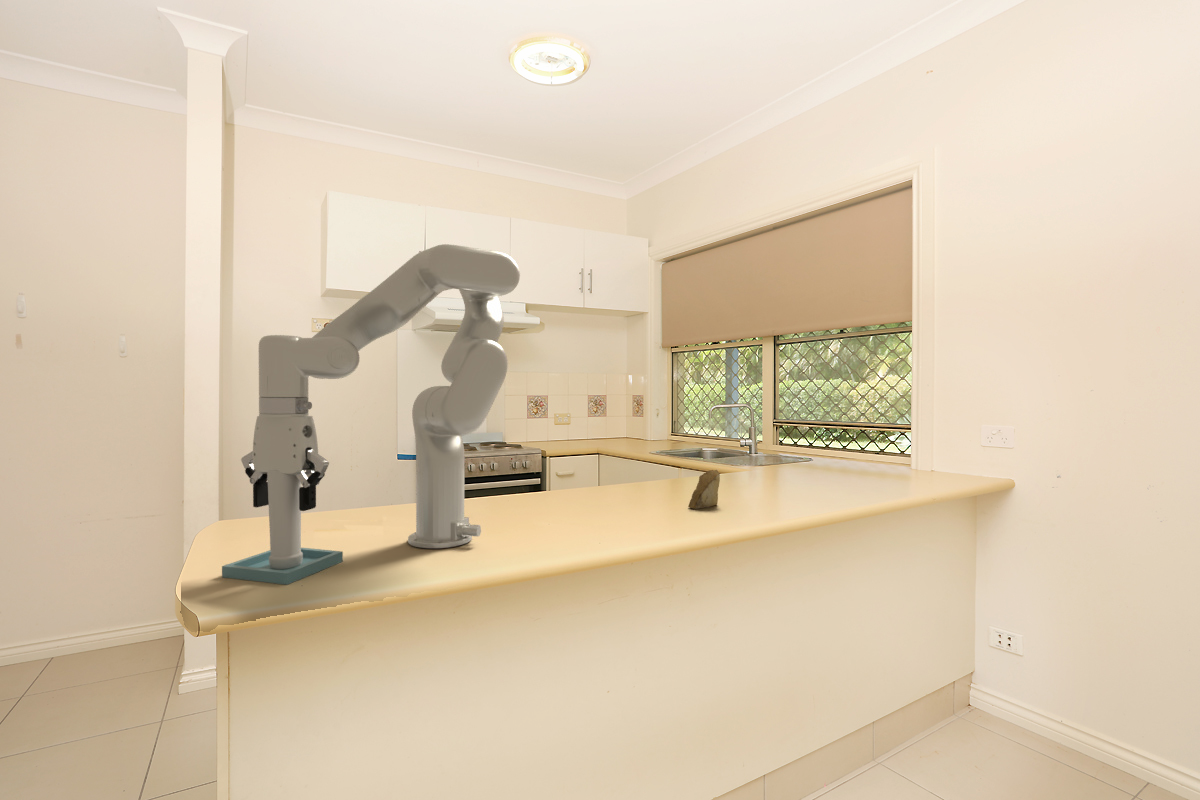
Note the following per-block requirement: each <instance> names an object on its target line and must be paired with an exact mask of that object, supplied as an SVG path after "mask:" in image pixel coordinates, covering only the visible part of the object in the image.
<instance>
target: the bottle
mask: <svg viewBox="0 0 1200 800" xmlns="http://www.w3.org/2000/svg"><path fill="white" fill-rule="evenodd" d="M267 478H268V480H267V482H268V502H269V505H268V520H269V521H268V522H269V546H270V549H269V550H271V555H270V556H269V564H270V567H271V568H272V569H288V568H293V567H296V566H299V565H300V564H301V563H302V559H303V553H302V552H301V548H302V511H300V510H299V489H300V487H302V484H301V483H300V481H299V479H298V478H297V476H296V475H285V474H282V473H281V472H280V471H278V470H269V471H268V473H267Z"/></svg>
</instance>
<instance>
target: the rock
mask: <svg viewBox="0 0 1200 800" xmlns="http://www.w3.org/2000/svg"><path fill="white" fill-rule="evenodd" d="M720 474H721V473H720V472H719V471H718V469H710V470H708V471H706V472H704V473H703V474H701V475H700V476H699V478H698V482H697V485H696V487H695V489H694V491H693V493H692V495H691V498H690V500H689V503H688V506H687V507H688V508H690V509H692V510H697V509H698V510H699V509H703V508H709V507H713V506H717V505H718V504H719V503H718V501H719V487H720V480H721V479H720V477H721V476H720Z"/></svg>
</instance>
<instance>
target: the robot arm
mask: <svg viewBox="0 0 1200 800" xmlns="http://www.w3.org/2000/svg"><path fill="white" fill-rule="evenodd" d="M520 277H521V273H520V268H519V266H518V263H516V260H515V259H513V258H512V257H511V256H510V255H509V254H507V253H504V252H501V251H498V250H497V251H496V250H489V249H482V248H476V247H469V246H464V245H457V244H456V245H455V244H446V243H445V244H439V245H435V246H433V247H430V248H427V249H424V250H421V251H420V252H418V253H416V254H415V255H413V256H412V257H411V258H409V259H408V260H406V262H405V263H404V264H402V265H401V266H400V267H399V268H398V269H397V270H395V271H394V272H393V273H392V274H391V275H389V276H388V277H387V278H386V279H385V280H383V281H381V282H380V283H379V284H378V285H377V286H376V287H374V288H373V289H372V290H371V291H370V292H368V293H367V294H365V295H364V296H363V297H362V298H360V299H359V300H358V301H357V302H355V303H354V304H353V305H351V306H350V307H349V308H348V309H346V310H345V311H343V312H342V313H341V314H339V315H338V316H337V317H335V318H334V319H332V321H331V322H329V323H328V324H327V325H325V326H324V327H323V328H322V329H320V331H318V332H317V333H316V334H314V335H313V336H312V337H301V336H298V335H297V336H295V335H286V334H271V335H265V336H263V337H261V338H260V340H259V342H258V415H257V416H256V421H255V426H254V433H253V440H252V441H253V442H252V451H250V452H249V453H247V454H246V455H244V456H242V457H241V459H240V461H241V463H242V465H243V468H244V473H245V474H246V476H247V477H248V478H249V483H250V484H251V485H252V501H253V502H252V503H253V504H252V505H253V506H252V507H253V508H261V507H266V506H269V502H268V478H267V473H268V471H269V470H278V471H280V472H281V473H282V474H285V475H296V476H297V478H298V479H299V481H300V483H301V487H300V489H299V510H300V511H301V512H304V511H309V510H313V509H315V508H317V486H319V484H320V483H321V481H322V479H323V478H325V476H326V475H325V474H326V472H327V470H328V467H329V465H330V461H329V460H327V459H326V458H324V457H323V456H322V455H320V454H319V446H318V437H317V430H316V425H315V419H314V417H313V416H312V415H309V410H311V409H312V408H313V404H312V402H311V401H309V377H312V378H314V379H319V380H323V379H324V380H339V379H340V380H341V379H343V378H346V377H348V376H350V375H352V374H353V373H354V372H355V371H356V369H357V368H358V366H359V363H360V353H359V352H360V351H361V350H362V349H364V348H365V347H366V346H368V345H369V344H371V343H373V342H375V341H376V340H378V339H380V338H382V337H384V336H386V335H389V334H391V333H393V332H395V331H398V330H399V329H401V328H402V327H404V326H405V325H406V324H407V323H408V322H409V321H410V320H412V319H413V318H414V317H416V315H417V314H418V313H420V311H421V310H422V309H424V308H425V307H426V306H427V305H428V304H429V303H431V302H432V301H433V300H434V299H435V298H436V297H437V296H438V295H440V294H442V292H444V291H449V290H452V289H454V290H455V289H456V290H458V291H459V293H460V296H461V297H462V300H463V303H464V315H463V318H462V320H461V323H460V325H459V327H458V329H457V331H456V333H455V335H454V336H453V338H452V340H451V342H450V344H449V346H448V347H447V349H446V351H445V353H444V355H443V358H442V361H441V365H440V367H441V373H442V375H443V377H444V378H445V379H446V381H448V382H449V383H451V384H450V385H436V386H435V385H434V386H430V387H428V388H425V389H424V390H422V391H421V392H419V394H418V395H417V396H416V398H415V400H414V402H413V405H412V424H413V431H414V437H415V438H414V439H415V455H416V456H415V459H416V460H415V462H416V463H415V465H416V466H415V467H416V468H415V469H416V472H415V477H416V478H415V481H416V482H415V488H416V490H415V491H416V493H415V495H416V496H415V498H416V499H415V500H416V502H415V504H416V505H415V506H416V507H415V508H416V510H415V511H416V512H415V513H416V514H415V516H416V518H415V519H416V520H415V523H416V524H415V527H416V530H415V532H413V533H411V534H409V536H408V537H407V543H408V545H410V546H412V547H415V548H420V549H446V548H453V547H458V546H462V545H465V544H467V543H470V542H471V541H472V539H473V537H480V536H481V533H482V529H481V525H480V524H471V523H470V517H469V516H468V517H467V516H465V455H466V454H465V446H464V440H463V436H468V435H470V434H473V433H474V432H476V431H477V430H478V429H479V428H480V427H481V426H482V424H483V423H484V421H485V419H486V418H487V416H488V414H489V412H490V410H491V408H492V406H493V404H494V402H495V400H496V398H497V396H498V394H499V392H500V390H501V388H502V385H503V383H504V381H505V379H506V376H507V374H508V373H507V372H508V364H509V363H508V357H507V353H506V351H505V349H504V348H503V347H502V345H500V343H498V341H499V339H500V337H501V334H502V332H503V328H504V323H505V318H504V313H503V308H502V306H501V302H500V299H499V297H500V296H501V297H502V296H505V295H508V294H510V293H512V292H513V291H514V290H515V289H516V288H517V286H519V281H520Z"/></svg>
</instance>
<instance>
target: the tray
mask: <svg viewBox="0 0 1200 800" xmlns="http://www.w3.org/2000/svg"><path fill="white" fill-rule="evenodd" d="M301 552H302V553H303V559H302V563H301V564H300V565H299V566H296V567H293V568H288V569H272V568H271V567H270V564H269V556H270V555H271V550H270V549H269V550H266V551H264V552H261V553H257V554H255V555H252V556H248V557H246V558H243V559H240V560H236V561H233V562H231V563H227V564H224V565H221V577H222V578H227V579H234V580H246V581H253V582H260V583H261V582H262V583H270V584H278V585H284V586H285V585H286V586H287V585H290V584H293V583H295V582H297V581H300V580H301V579H304V578H306V577H309V576H311V575H314V574H316V573H319V572H320V571H323V570H325V569H327V568H330V567H333V566H336V565H338V564H339V563H342V562H343V561H344V559H343V557H344V555H343V554H344V552H343V551H341V550H331V549H321V548H320V549H319V548H310V547H301Z"/></svg>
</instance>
